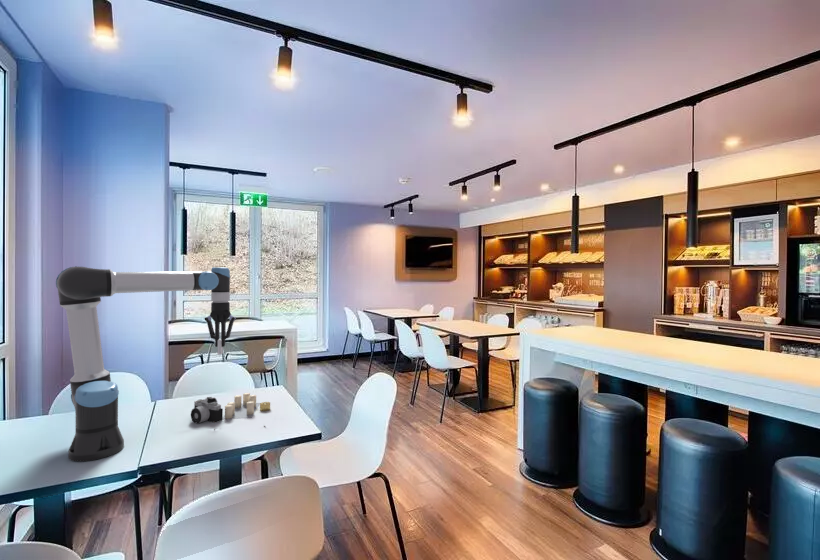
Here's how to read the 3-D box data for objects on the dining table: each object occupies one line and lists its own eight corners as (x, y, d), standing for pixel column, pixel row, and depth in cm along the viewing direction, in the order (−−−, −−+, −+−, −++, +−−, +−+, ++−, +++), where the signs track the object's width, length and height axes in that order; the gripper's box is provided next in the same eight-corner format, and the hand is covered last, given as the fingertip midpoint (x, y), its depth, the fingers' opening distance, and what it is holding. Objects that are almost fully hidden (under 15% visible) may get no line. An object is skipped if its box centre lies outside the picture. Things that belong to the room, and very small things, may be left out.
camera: (182, 421, 167) (182, 398, 167) (202, 415, 175) (202, 392, 175) (206, 428, 160) (206, 404, 160) (225, 421, 168) (226, 398, 168)
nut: (269, 411, 178) (269, 404, 178) (258, 411, 178) (259, 405, 178) (271, 408, 183) (271, 401, 183) (261, 408, 182) (261, 401, 182)
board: (251, 420, 170) (251, 406, 170) (221, 421, 168) (221, 407, 168) (260, 404, 189) (260, 392, 189) (233, 406, 187) (233, 393, 187)
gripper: (238, 301, 183) (237, 352, 183) (207, 301, 181) (207, 352, 181) (233, 302, 176) (233, 355, 176) (202, 302, 173) (201, 356, 174)
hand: (220, 353), depth 178 cm, fingers closed
